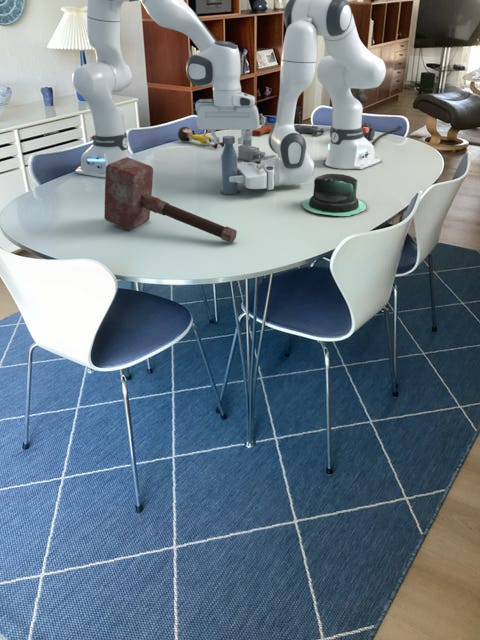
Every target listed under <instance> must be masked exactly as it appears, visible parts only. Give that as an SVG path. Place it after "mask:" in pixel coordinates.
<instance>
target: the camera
mask: <svg viewBox="0 0 480 640" xmlns="http://www.w3.org/2000/svg"><path fill="white" fill-rule="evenodd" d="M242 134H243V133H241V135H242ZM252 137H253V135H252V130H246V133H245V135H244V137H243V144H240V145H238V147H237V159H239V160H243V161H245V162H254V163H257V162H258V163H259V162H261V160H271V159H273V158H275V157H277V156H276V155H275V154H273V155H266V152H264V151H261V150H260V148H259V147H257V146H252Z"/></svg>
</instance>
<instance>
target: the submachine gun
mask: <svg viewBox="0 0 480 640" xmlns="http://www.w3.org/2000/svg"><path fill="white" fill-rule="evenodd" d="M274 124H275V122H264V124H262V125H261V126H260V127H259V128H258V129H257V130H252V136H257V137H258V136H261V135H265V134H268V133H270V132H271V130H272V128H273V126H274ZM294 128H295V131H296V132H298V133H299V134H311V136H312V137H319V136H322V135H323V134H324V133H325V130H324V128H319V127H318V126H315V125H313V126H312V125H304V124H303V125H302V124H294ZM318 128H319V129H318Z"/></svg>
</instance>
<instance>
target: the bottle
mask: <svg viewBox="0 0 480 640" xmlns="http://www.w3.org/2000/svg"><path fill="white" fill-rule="evenodd" d="M220 158H221V160H220V161H221V187H222V189H221V191H222V194H225V195H237V194H238V193H239V192H238V191H239V190H238V186H239V184H238V182H229V178H228V177H229V176H233V175H234V176H238V175H237V163H238V153H237V151H236V149H235V146H234V144H224V146H223V149H222V152H221V156H220Z"/></svg>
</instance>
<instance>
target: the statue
mask: <svg viewBox="0 0 480 640" xmlns="http://www.w3.org/2000/svg"><path fill="white" fill-rule="evenodd" d="M350 90H351V93H352V95H353V97H354V98H355V99H357V100H358V101H359V102H360V103H361V104H362V107H363V108H364V104H365V103H367V102H368V96H367V95H366V94H365V91H364V89H356V88H350Z"/></svg>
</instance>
